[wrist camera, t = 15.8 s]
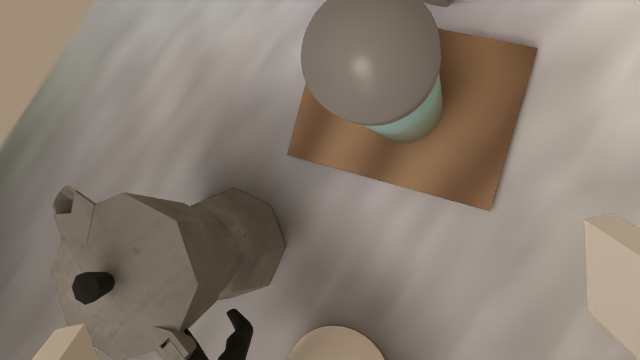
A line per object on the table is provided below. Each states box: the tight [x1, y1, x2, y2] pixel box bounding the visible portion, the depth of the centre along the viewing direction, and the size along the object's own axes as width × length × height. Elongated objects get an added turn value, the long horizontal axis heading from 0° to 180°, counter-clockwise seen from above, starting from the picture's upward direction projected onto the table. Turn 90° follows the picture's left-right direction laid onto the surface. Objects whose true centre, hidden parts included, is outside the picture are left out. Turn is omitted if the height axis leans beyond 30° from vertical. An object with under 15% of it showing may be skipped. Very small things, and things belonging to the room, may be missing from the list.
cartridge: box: [301, 0, 443, 143], centre depth 29 cm, size 6×6×17 cm
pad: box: [287, 29, 538, 211], centre depth 38 cm, size 16×12×1 cm
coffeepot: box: [51, 186, 285, 360], centre depth 33 cm, size 15×9×18 cm, turn 44°
